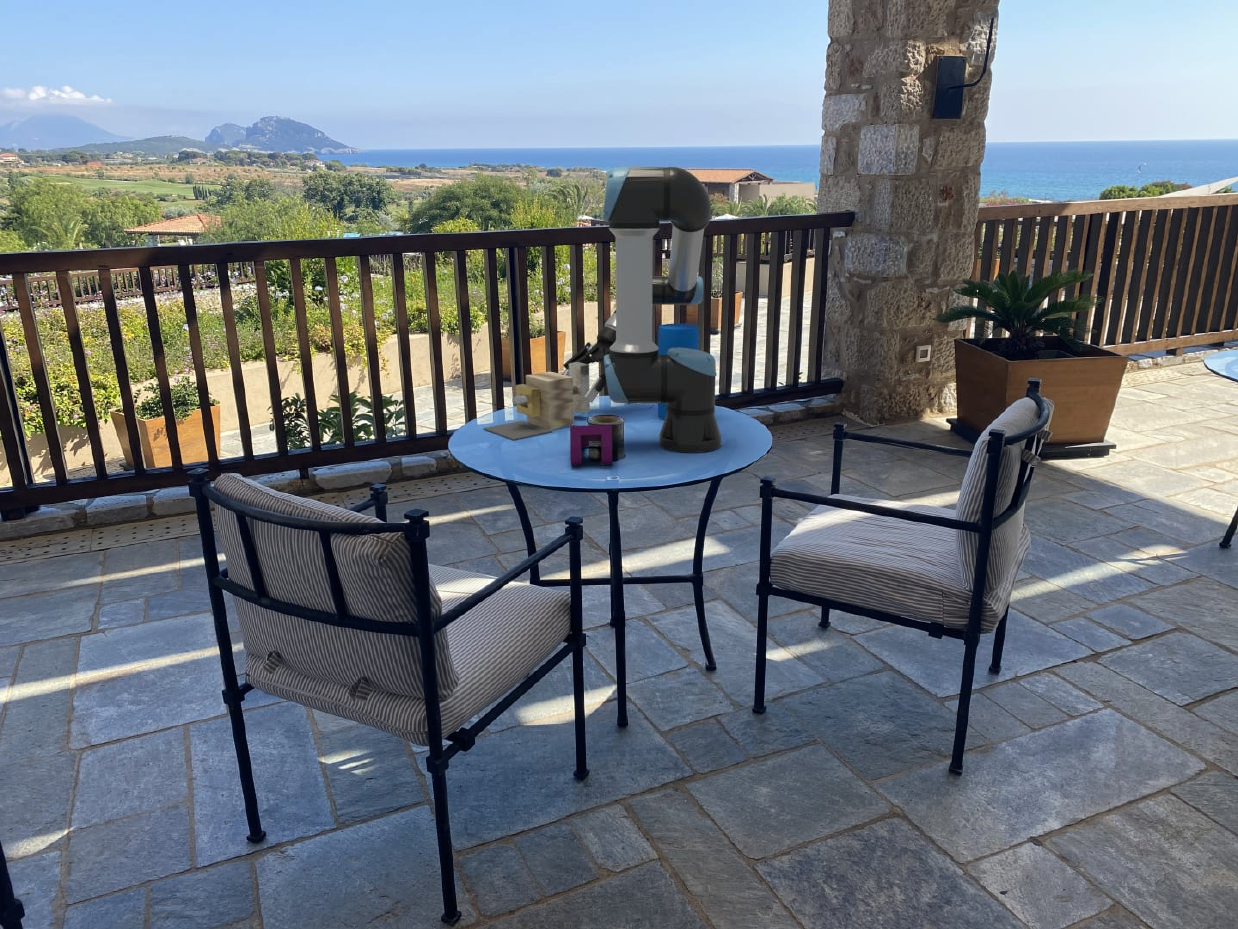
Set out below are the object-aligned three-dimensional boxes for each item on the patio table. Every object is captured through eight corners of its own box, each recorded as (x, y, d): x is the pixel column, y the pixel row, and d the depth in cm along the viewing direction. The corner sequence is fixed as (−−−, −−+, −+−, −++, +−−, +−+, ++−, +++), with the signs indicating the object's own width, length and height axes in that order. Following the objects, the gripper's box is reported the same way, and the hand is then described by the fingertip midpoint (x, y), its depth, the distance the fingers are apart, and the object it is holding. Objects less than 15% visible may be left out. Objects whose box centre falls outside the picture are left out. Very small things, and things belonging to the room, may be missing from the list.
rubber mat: (521, 421, 237) (521, 420, 237) (552, 432, 227) (552, 430, 227) (483, 429, 230) (483, 428, 230) (513, 440, 220) (513, 439, 220)
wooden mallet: (578, 408, 243) (577, 361, 239) (589, 411, 240) (589, 364, 236) (510, 421, 229) (508, 372, 226) (521, 425, 226) (519, 376, 222)
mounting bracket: (572, 473, 214) (570, 462, 196) (571, 439, 215) (569, 425, 197) (611, 473, 214) (612, 462, 196) (610, 438, 215) (611, 425, 197)
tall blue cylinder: (659, 411, 247) (660, 322, 240) (697, 413, 246) (699, 323, 238) (655, 421, 237) (656, 329, 229) (695, 422, 236) (697, 329, 228)
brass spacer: (524, 410, 233) (523, 383, 231) (540, 415, 228) (539, 388, 225) (516, 411, 231) (515, 385, 229) (532, 417, 226) (531, 389, 224)
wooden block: (551, 418, 241) (550, 371, 237) (573, 425, 234) (572, 377, 230) (527, 422, 236) (525, 375, 232) (549, 430, 229) (547, 381, 225)
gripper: (652, 348, 236) (609, 411, 231) (594, 337, 254) (553, 395, 249) (637, 330, 231) (593, 395, 226) (579, 320, 249) (537, 379, 244)
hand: (572, 395), depth 238 cm, fingers open, 13 cm apart
